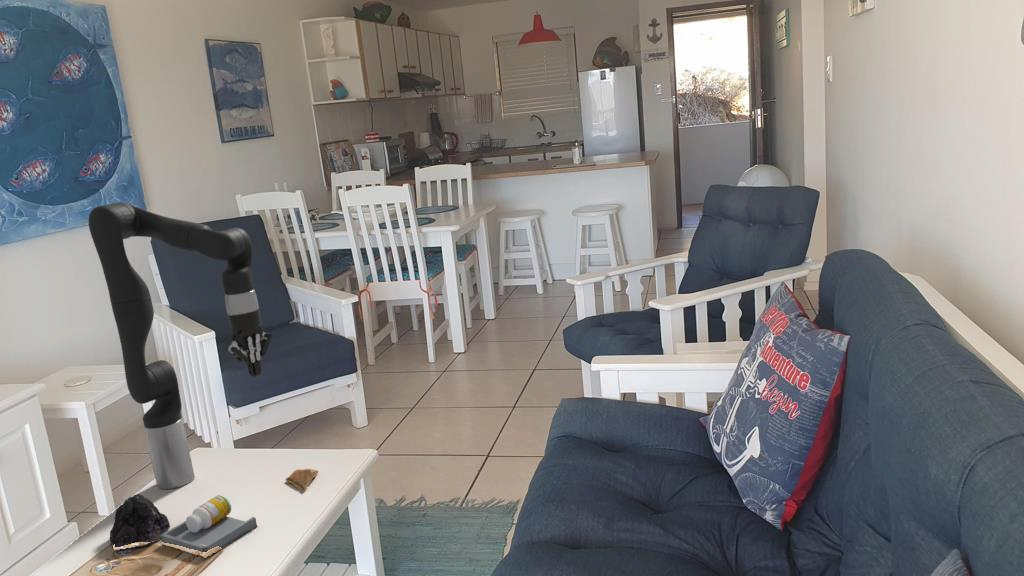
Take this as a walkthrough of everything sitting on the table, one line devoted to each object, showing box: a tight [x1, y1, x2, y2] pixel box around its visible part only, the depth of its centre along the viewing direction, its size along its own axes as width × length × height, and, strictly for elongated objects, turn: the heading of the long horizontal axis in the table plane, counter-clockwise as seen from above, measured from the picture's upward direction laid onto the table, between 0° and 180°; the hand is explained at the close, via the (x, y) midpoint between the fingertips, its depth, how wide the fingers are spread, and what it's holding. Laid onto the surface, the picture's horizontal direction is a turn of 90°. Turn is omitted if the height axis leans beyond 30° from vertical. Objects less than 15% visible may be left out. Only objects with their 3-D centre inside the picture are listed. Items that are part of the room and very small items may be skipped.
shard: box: [285, 468, 319, 492], centre depth 202 cm, size 11×8×2 cm
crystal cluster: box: [109, 493, 171, 547], centre depth 183 cm, size 13×14×10 cm
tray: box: [160, 515, 258, 552], centre depth 180 cm, size 16×14×2 cm
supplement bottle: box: [185, 494, 232, 532], centre depth 184 cm, size 5×5×10 cm
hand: (255, 375), depth 199 cm, fingers closed
